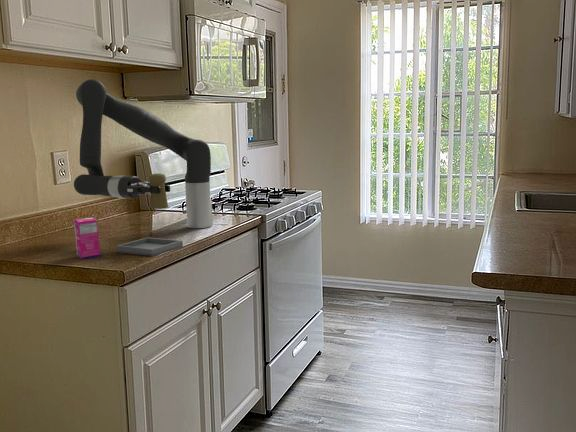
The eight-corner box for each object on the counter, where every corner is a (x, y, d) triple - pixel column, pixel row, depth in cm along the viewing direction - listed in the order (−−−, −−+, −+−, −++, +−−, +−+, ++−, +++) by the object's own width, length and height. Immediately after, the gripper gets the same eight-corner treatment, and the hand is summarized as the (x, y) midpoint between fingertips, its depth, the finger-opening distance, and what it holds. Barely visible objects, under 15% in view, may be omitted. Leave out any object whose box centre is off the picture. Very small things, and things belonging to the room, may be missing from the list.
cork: (160, 205, 197) (159, 172, 195) (172, 207, 193) (170, 173, 191) (145, 207, 192) (143, 173, 191) (157, 209, 189) (155, 174, 187)
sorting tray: (148, 243, 199) (147, 237, 199) (182, 246, 192) (182, 240, 192) (116, 252, 187) (116, 245, 186) (152, 256, 180) (152, 249, 179)
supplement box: (76, 256, 182) (73, 219, 181) (96, 253, 185) (93, 217, 184) (80, 259, 177) (77, 221, 176) (100, 256, 181) (98, 219, 179)
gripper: (108, 177, 192) (149, 179, 184) (139, 173, 204) (178, 175, 196) (110, 200, 193) (150, 203, 185) (140, 195, 205) (179, 198, 197)
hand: (164, 189), depth 191 cm, fingers closed on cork, 4 cm apart
